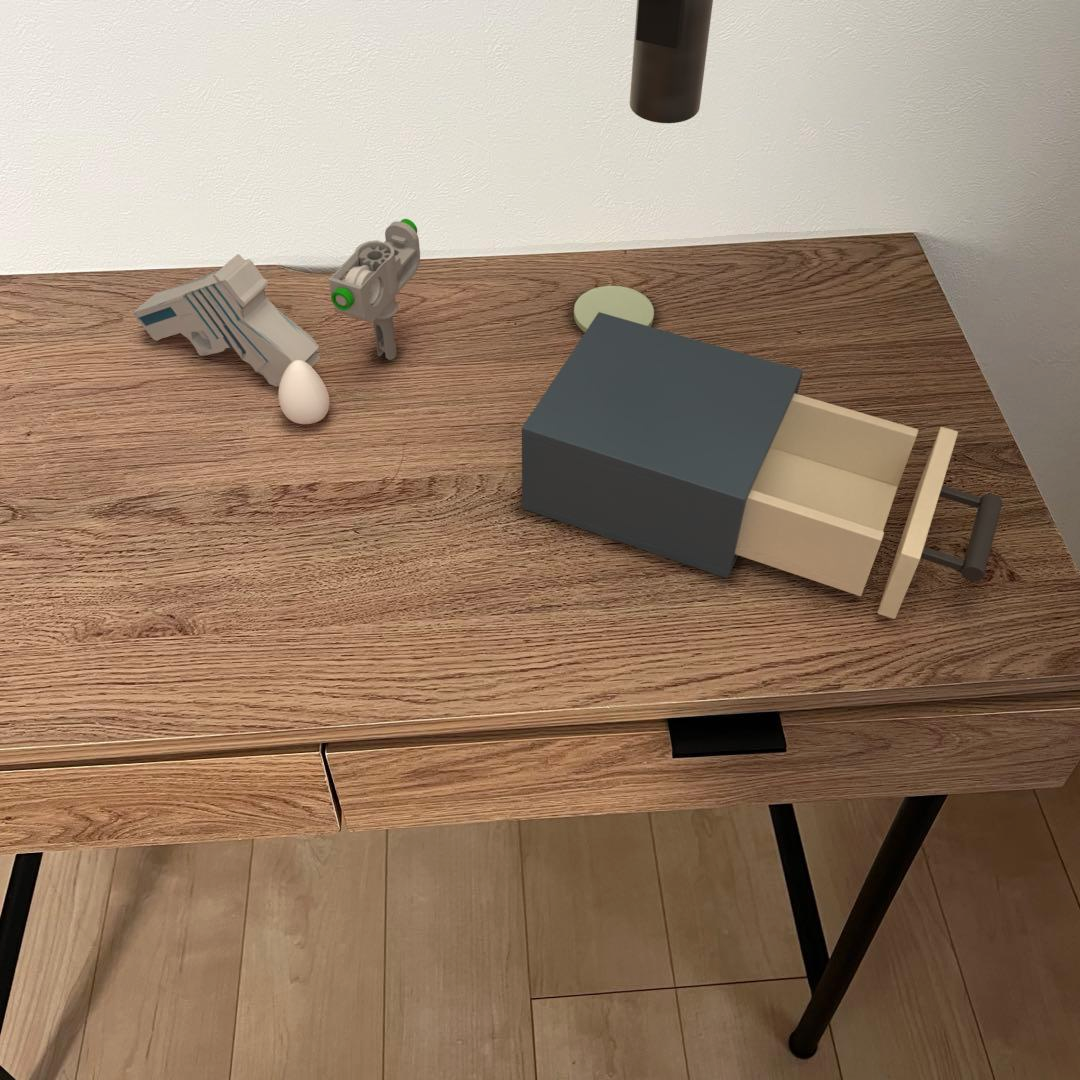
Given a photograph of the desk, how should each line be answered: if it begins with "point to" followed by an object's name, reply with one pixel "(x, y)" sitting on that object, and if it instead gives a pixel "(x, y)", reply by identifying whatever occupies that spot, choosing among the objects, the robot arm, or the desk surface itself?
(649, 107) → the dark brown cylinder
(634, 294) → the coaster
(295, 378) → the egg
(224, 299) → the toy gun
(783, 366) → the cabinet
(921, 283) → the desk surface
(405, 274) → the mechanical component
